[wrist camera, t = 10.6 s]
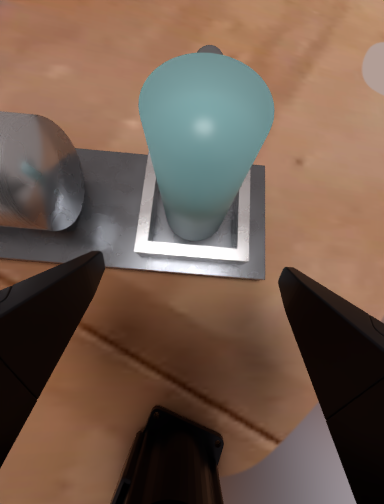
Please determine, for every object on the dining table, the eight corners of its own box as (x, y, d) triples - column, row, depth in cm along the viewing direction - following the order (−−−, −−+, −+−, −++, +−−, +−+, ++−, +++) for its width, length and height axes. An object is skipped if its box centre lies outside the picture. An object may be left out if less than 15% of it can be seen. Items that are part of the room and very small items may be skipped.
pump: (221, 243, 18) (275, 169, 7) (163, 238, 18) (129, 156, 7) (225, 169, 20) (272, 21, 9) (171, 164, 20) (154, 8, 9)
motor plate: (259, 174, 21) (337, 51, 10) (258, 280, 19) (360, 265, 8) (11, 151, 21) (-182, -3, 10) (-24, 256, 18) (-331, 206, 7)
